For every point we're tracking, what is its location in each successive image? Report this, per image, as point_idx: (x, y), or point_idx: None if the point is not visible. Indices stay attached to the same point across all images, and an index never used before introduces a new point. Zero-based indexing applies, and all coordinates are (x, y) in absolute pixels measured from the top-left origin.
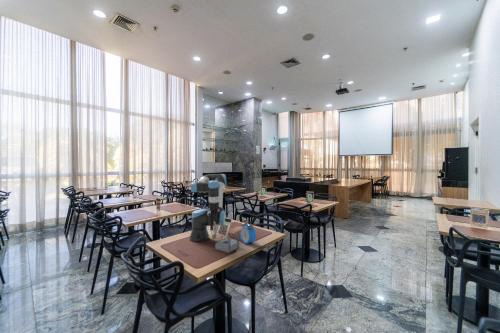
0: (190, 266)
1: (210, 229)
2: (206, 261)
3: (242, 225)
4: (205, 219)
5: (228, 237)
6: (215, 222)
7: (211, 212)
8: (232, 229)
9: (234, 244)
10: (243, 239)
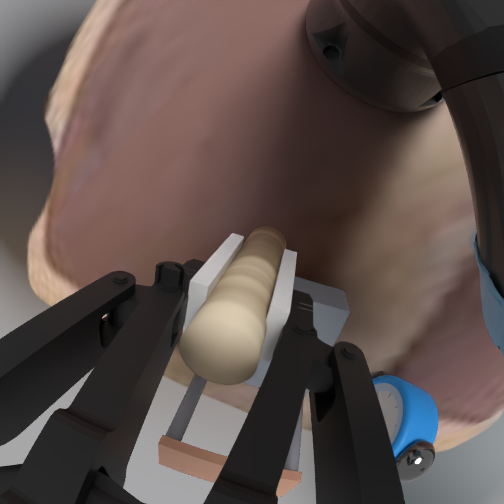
0: (42, 227)
1: (187, 262)
2: (89, 272)
3: (398, 460)
4: (450, 33)
5: (177, 411)
6: (215, 380)
7: (1, 493)
8: (206, 465)
9: (256, 384)
10: (376, 391)
